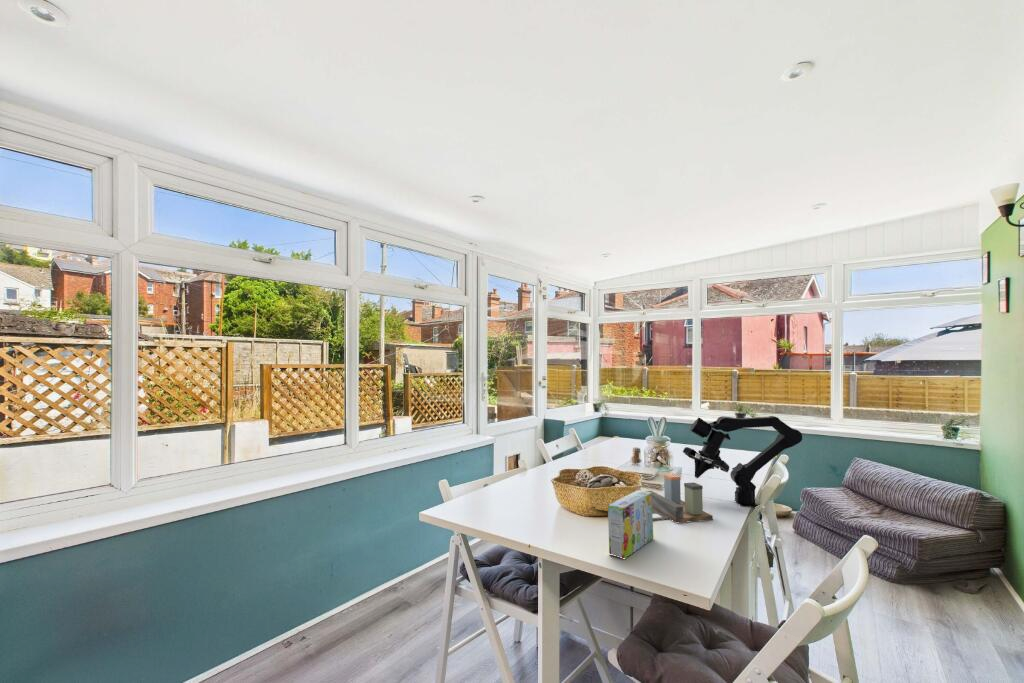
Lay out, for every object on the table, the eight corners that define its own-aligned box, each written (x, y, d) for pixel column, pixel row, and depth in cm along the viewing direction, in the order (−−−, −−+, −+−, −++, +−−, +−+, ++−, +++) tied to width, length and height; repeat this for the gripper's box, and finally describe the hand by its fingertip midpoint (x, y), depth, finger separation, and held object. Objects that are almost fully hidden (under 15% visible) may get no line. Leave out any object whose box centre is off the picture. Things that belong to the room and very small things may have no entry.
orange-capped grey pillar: (673, 499, 188) (673, 473, 188) (681, 503, 183) (680, 476, 183) (664, 500, 187) (663, 474, 187) (671, 503, 182) (671, 477, 182)
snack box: (637, 535, 153) (637, 489, 154) (654, 539, 150) (653, 492, 151) (607, 555, 137) (607, 504, 138) (625, 560, 133) (624, 507, 134)
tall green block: (694, 509, 174) (693, 482, 175) (703, 514, 169) (702, 485, 170) (684, 510, 173) (684, 483, 174) (693, 515, 168) (692, 486, 169)
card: (650, 507, 182) (650, 506, 182) (669, 519, 169) (669, 517, 169) (631, 509, 181) (631, 508, 181) (649, 521, 167) (649, 519, 167)
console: (678, 502, 190) (677, 488, 190) (712, 519, 168) (712, 504, 168) (644, 504, 186) (644, 491, 187) (675, 523, 165) (675, 507, 165)
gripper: (743, 460, 186) (726, 494, 183) (703, 445, 202) (687, 477, 199) (730, 447, 181) (712, 483, 178) (690, 434, 197) (673, 466, 194)
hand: (696, 477), depth 187 cm, fingers closed
